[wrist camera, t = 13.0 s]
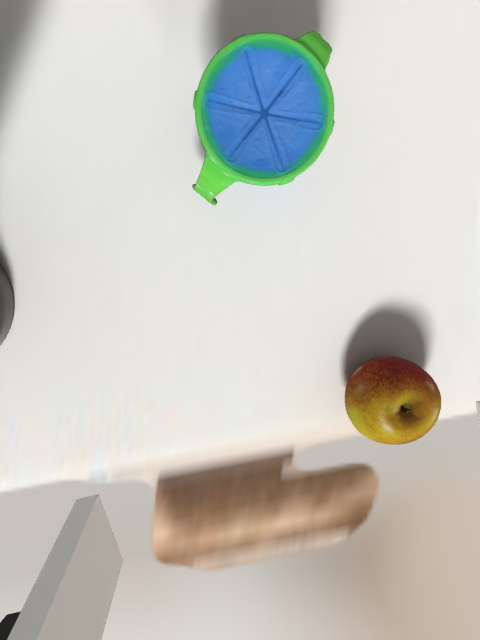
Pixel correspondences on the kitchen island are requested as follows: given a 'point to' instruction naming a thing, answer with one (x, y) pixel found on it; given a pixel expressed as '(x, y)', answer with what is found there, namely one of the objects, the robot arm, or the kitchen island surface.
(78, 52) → the kitchen island surface
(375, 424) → the fruit
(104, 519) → the robot arm
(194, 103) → the snack cup
